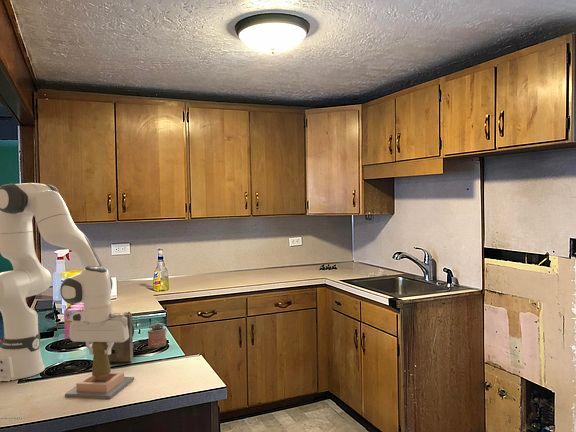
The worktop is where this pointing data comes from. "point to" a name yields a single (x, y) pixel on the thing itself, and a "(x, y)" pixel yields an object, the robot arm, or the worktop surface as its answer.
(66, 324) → the gum box
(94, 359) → the olive peg figure
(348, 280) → the worktop surface
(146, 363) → the worktop surface
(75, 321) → the robot arm
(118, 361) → the vintage camera
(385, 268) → the worktop surface
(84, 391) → the socket block
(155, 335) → the lighter
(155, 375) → the worktop surface
